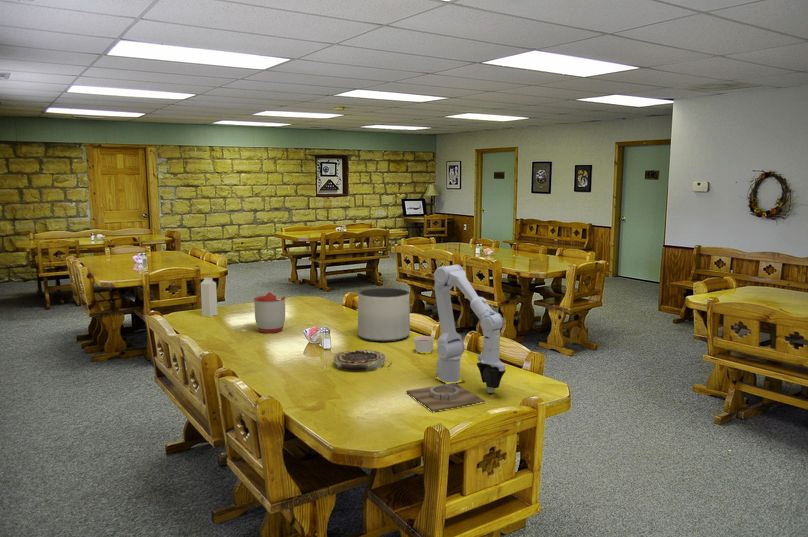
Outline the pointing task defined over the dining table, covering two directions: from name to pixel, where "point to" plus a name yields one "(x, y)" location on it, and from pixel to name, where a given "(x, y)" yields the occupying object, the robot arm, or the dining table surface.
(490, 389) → the light bulb
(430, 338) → the candle
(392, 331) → the planter
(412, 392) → the socket board
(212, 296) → the milk
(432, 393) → the socket ring
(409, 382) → the dining table surface
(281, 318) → the citrus juicer
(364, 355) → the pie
